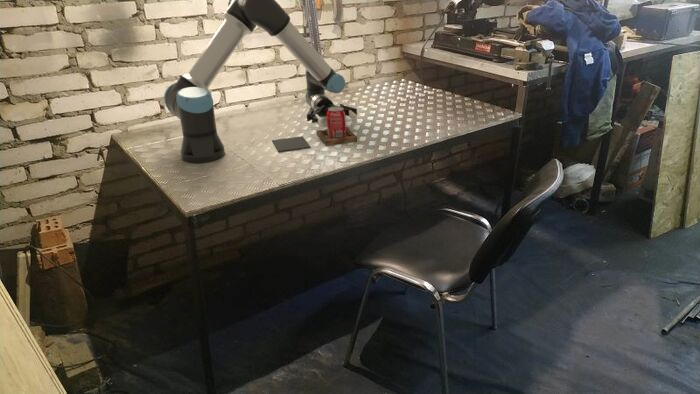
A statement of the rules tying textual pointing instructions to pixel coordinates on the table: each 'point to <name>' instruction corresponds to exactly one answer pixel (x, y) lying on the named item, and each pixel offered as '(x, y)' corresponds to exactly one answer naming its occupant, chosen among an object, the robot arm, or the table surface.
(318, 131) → the holder
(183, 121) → the robot arm
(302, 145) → the mat
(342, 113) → the soda can
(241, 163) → the table surface
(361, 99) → the table surface
